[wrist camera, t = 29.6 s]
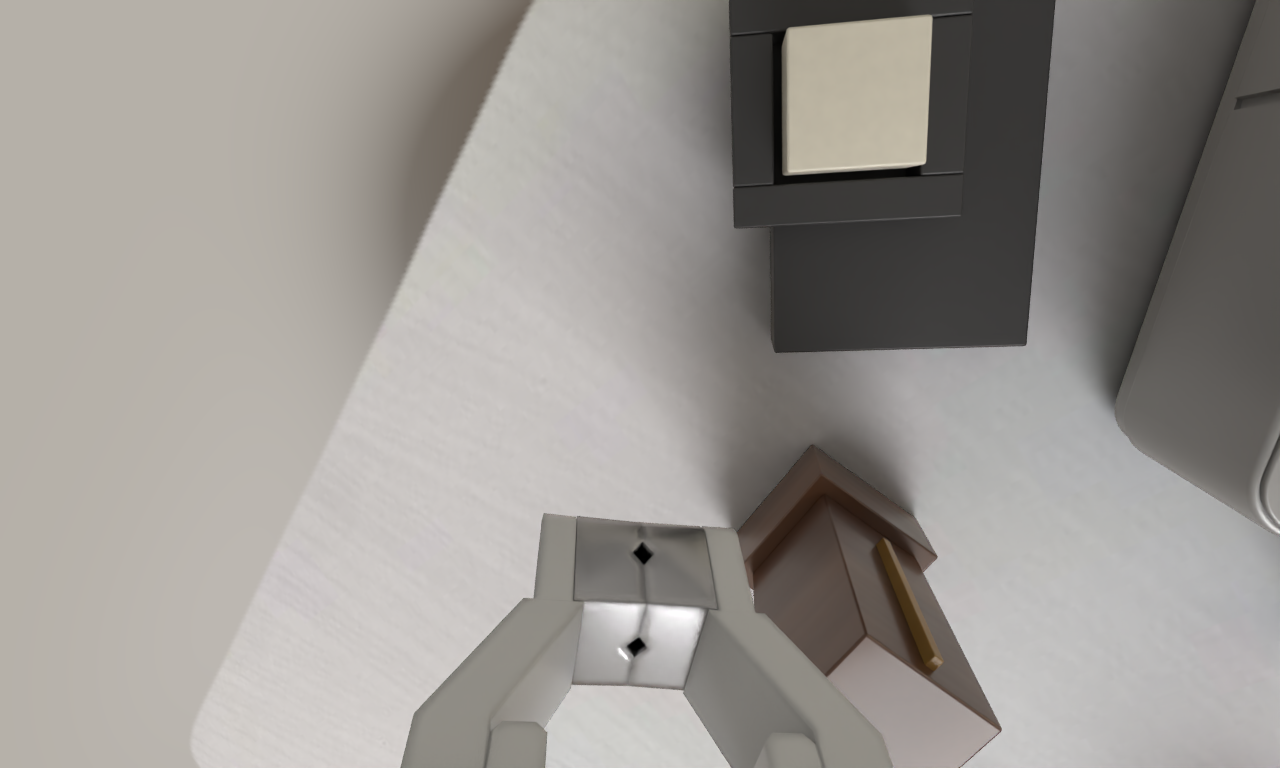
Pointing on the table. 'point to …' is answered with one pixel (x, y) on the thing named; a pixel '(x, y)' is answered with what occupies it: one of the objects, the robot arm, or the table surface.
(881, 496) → the brown stepped pedestal
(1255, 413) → the projector
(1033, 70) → the black stepped base
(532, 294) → the table surface
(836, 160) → the cream rectangular block
